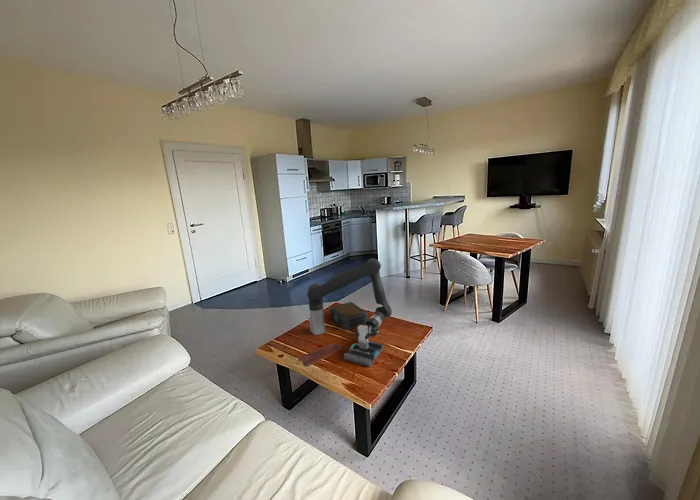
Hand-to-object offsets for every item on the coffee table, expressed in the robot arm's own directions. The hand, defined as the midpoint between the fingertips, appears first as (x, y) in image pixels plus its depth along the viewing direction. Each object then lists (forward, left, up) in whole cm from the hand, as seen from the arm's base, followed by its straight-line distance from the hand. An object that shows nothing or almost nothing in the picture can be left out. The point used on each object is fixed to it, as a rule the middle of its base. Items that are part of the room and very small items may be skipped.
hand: (361, 336), depth 160 cm
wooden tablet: (-24, -7, -13) cm, 28 cm away
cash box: (-30, +37, -13) cm, 49 cm away
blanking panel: (0, +3, -8) cm, 8 cm away
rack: (0, +3, -13) cm, 13 cm away
